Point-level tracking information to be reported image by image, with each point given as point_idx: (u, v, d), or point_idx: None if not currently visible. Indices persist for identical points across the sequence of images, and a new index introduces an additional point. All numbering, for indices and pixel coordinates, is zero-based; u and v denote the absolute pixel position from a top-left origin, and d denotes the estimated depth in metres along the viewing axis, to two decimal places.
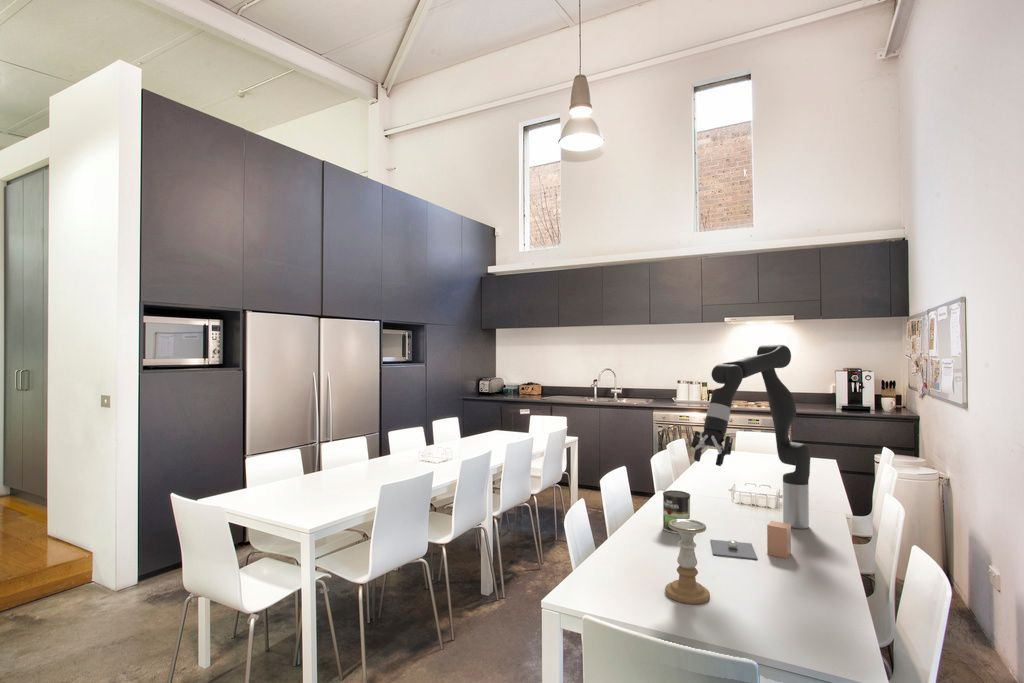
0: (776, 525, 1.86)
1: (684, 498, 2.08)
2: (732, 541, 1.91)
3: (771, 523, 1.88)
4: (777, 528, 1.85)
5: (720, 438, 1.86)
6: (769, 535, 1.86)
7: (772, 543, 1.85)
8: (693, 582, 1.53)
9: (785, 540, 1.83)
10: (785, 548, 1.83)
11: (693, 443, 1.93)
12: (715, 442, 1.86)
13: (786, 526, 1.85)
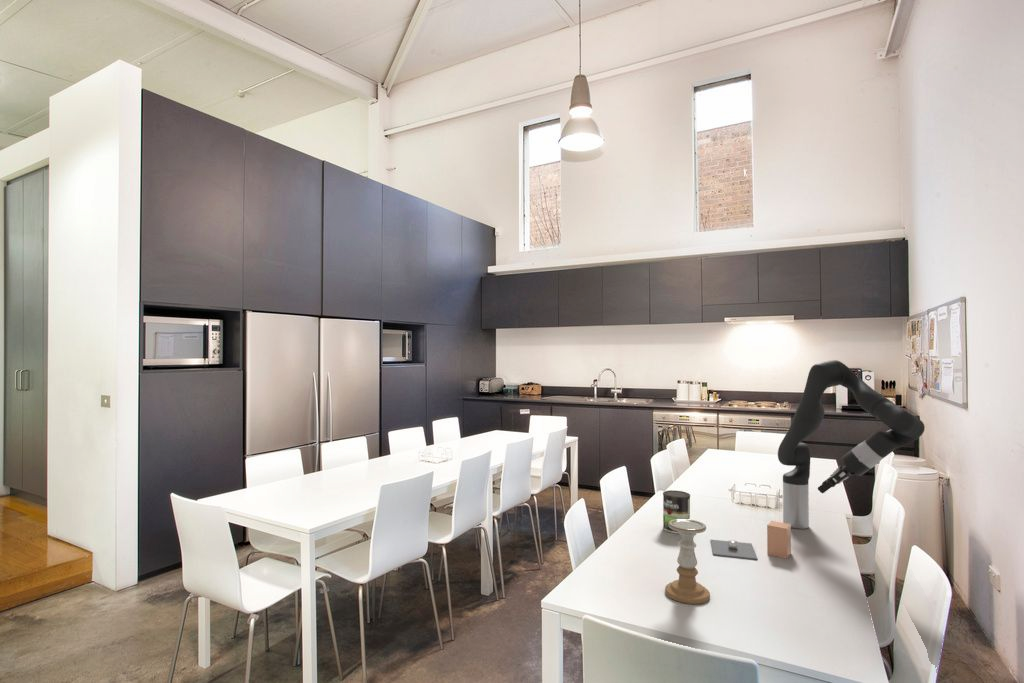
0: (776, 525, 1.86)
1: (684, 498, 2.08)
2: (732, 541, 1.91)
3: (771, 523, 1.88)
4: (777, 528, 1.85)
5: None
6: (769, 535, 1.86)
7: (772, 543, 1.85)
8: (693, 582, 1.53)
9: (785, 540, 1.83)
10: (785, 548, 1.83)
11: None
12: None
13: (786, 526, 1.85)
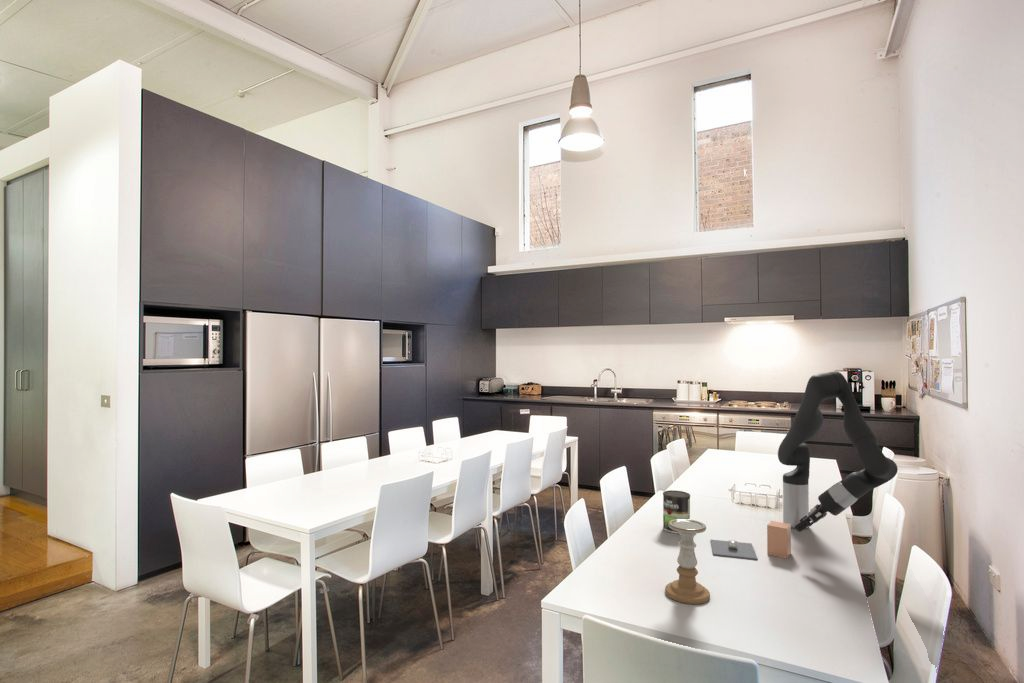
0: (776, 525, 1.86)
1: (684, 498, 2.08)
2: (732, 541, 1.91)
3: (771, 523, 1.88)
4: (777, 528, 1.85)
5: None
6: (769, 535, 1.86)
7: (772, 543, 1.85)
8: (693, 582, 1.53)
9: (785, 540, 1.83)
10: (785, 548, 1.83)
11: None
12: None
13: (786, 526, 1.85)
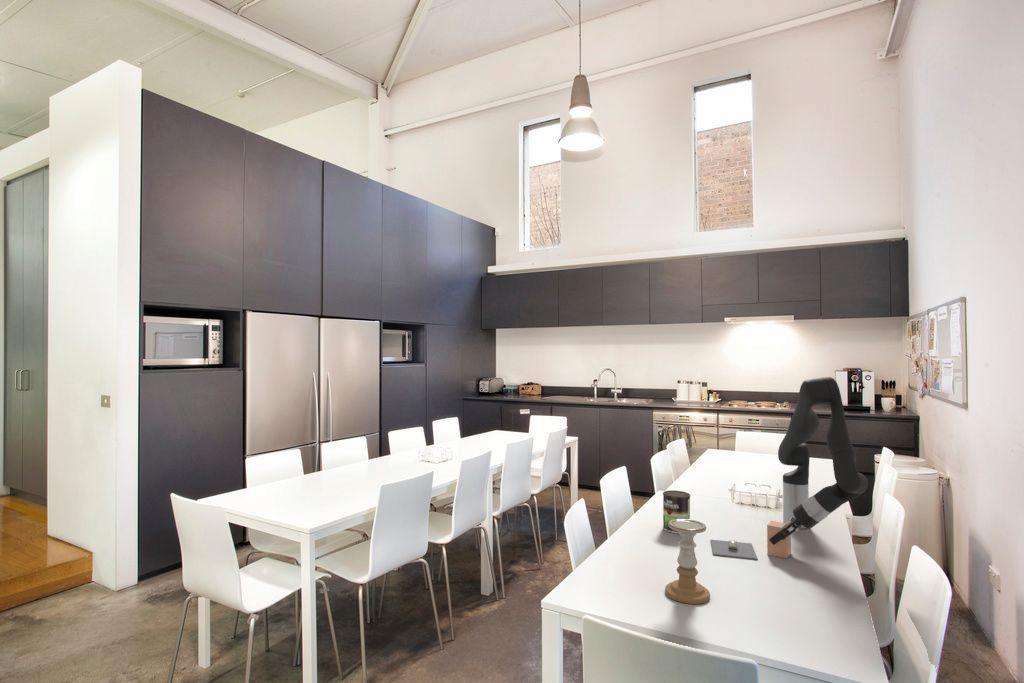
0: (776, 525, 1.86)
1: (684, 498, 2.08)
2: (732, 541, 1.91)
3: (771, 523, 1.88)
4: (777, 528, 1.85)
5: None
6: (769, 535, 1.86)
7: None
8: (693, 582, 1.53)
9: (785, 540, 1.83)
10: (785, 548, 1.83)
11: (785, 537, 1.81)
12: None
13: None
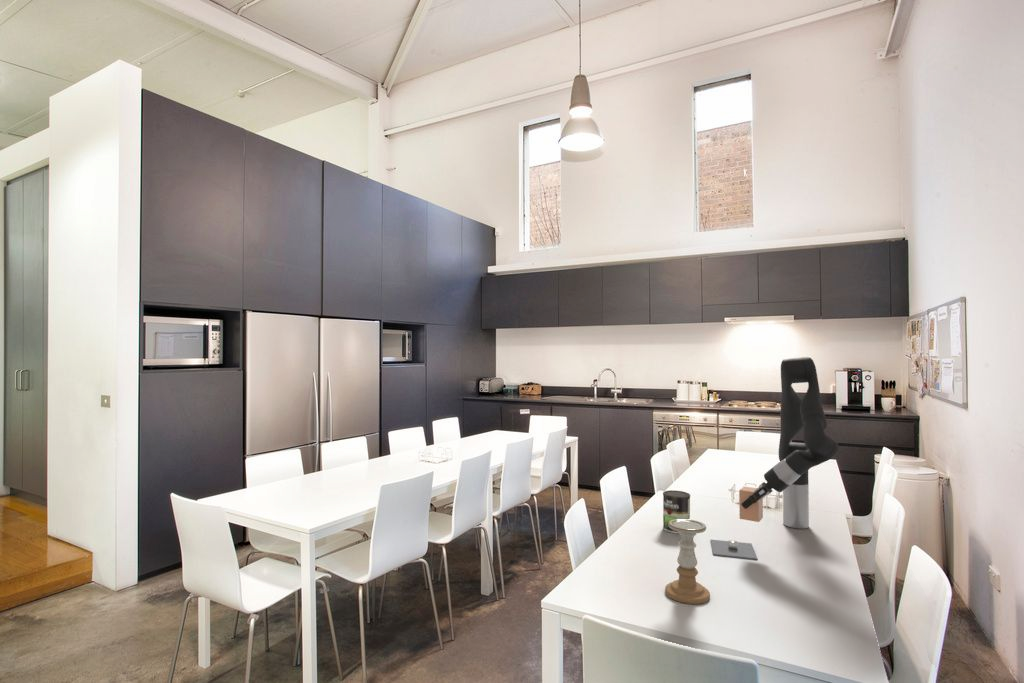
0: (748, 490, 1.88)
1: (684, 498, 2.08)
2: (732, 541, 1.91)
3: (743, 488, 1.90)
4: (749, 492, 1.86)
5: None
6: (741, 499, 1.88)
7: None
8: (693, 582, 1.53)
9: (757, 504, 1.85)
10: (757, 512, 1.85)
11: None
12: None
13: None
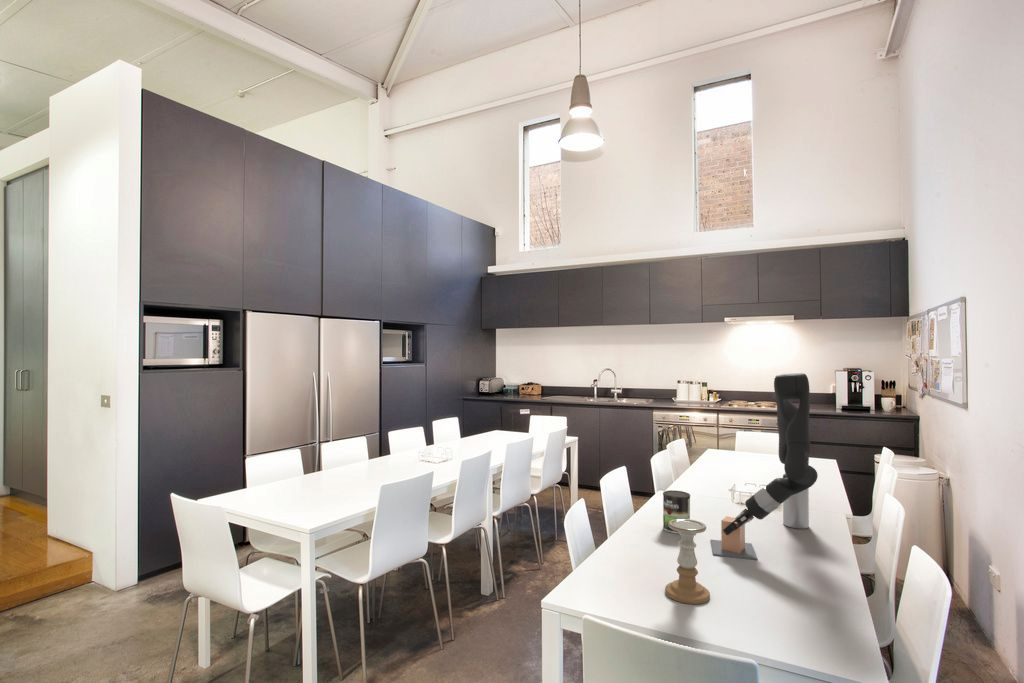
0: (730, 520, 1.90)
1: (684, 498, 2.08)
2: None
3: (726, 518, 1.92)
4: None
5: None
6: None
7: (726, 538, 1.89)
8: (693, 582, 1.53)
9: (738, 535, 1.86)
10: (738, 543, 1.86)
11: (738, 527, 1.83)
12: None
13: None
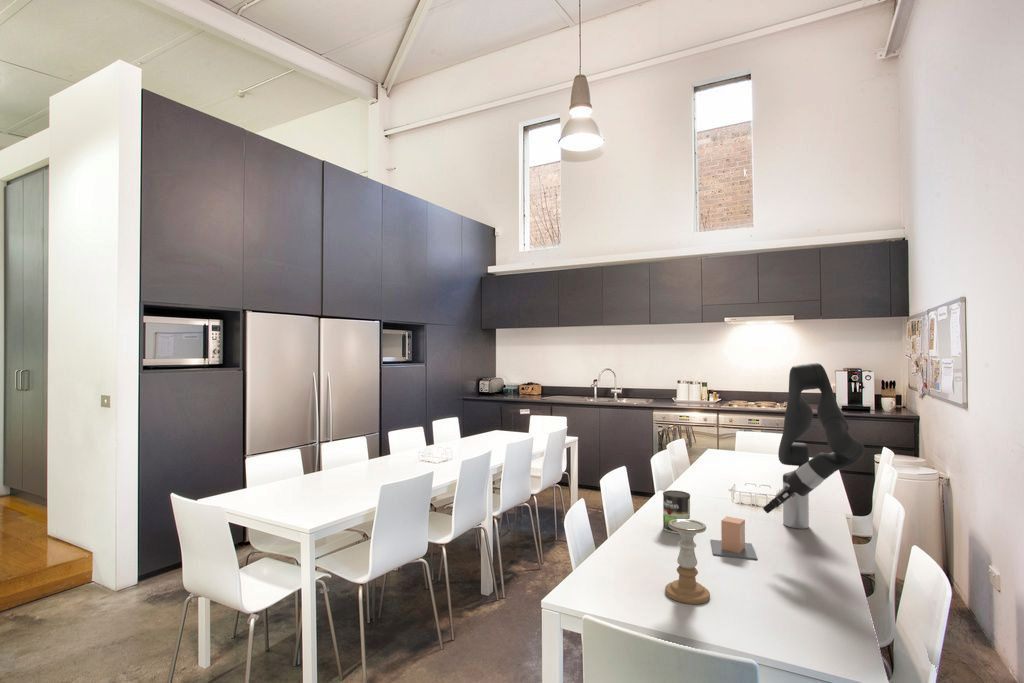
0: (730, 520, 1.90)
1: (684, 498, 2.08)
2: None
3: (726, 518, 1.92)
4: (731, 523, 1.88)
5: None
6: (723, 530, 1.89)
7: (726, 538, 1.89)
8: (693, 582, 1.53)
9: (738, 535, 1.86)
10: (738, 543, 1.86)
11: (779, 504, 1.76)
12: None
13: (740, 521, 1.89)
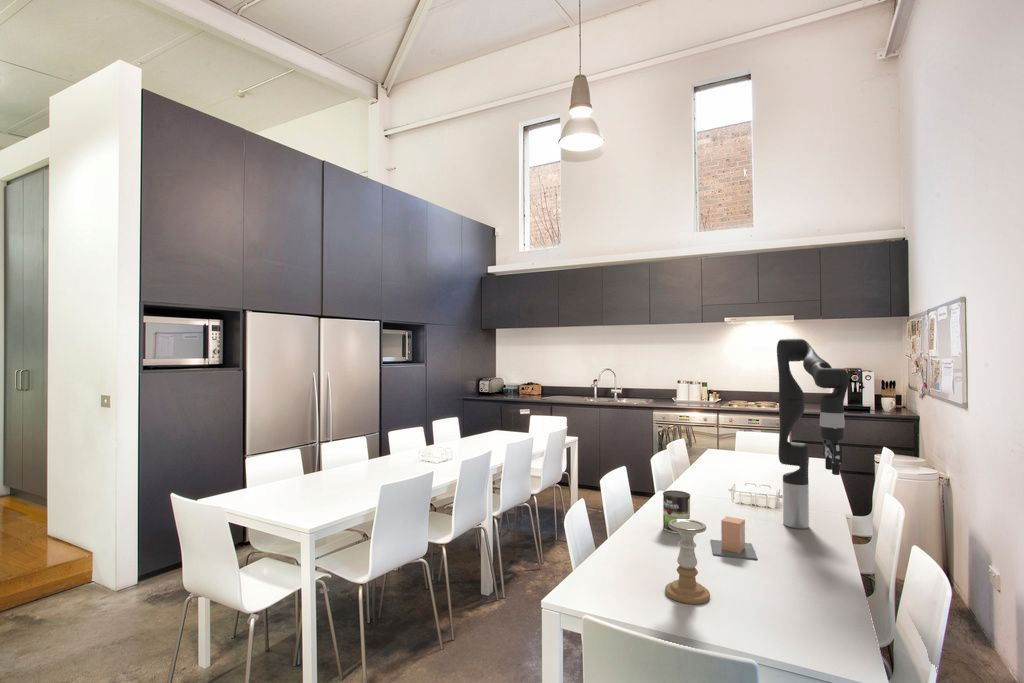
0: (730, 520, 1.90)
1: (684, 498, 2.08)
2: None
3: (726, 518, 1.92)
4: (731, 523, 1.88)
5: None
6: (723, 530, 1.89)
7: (726, 538, 1.89)
8: (693, 582, 1.53)
9: (738, 535, 1.86)
10: (738, 543, 1.86)
11: None
12: None
13: (740, 521, 1.89)
